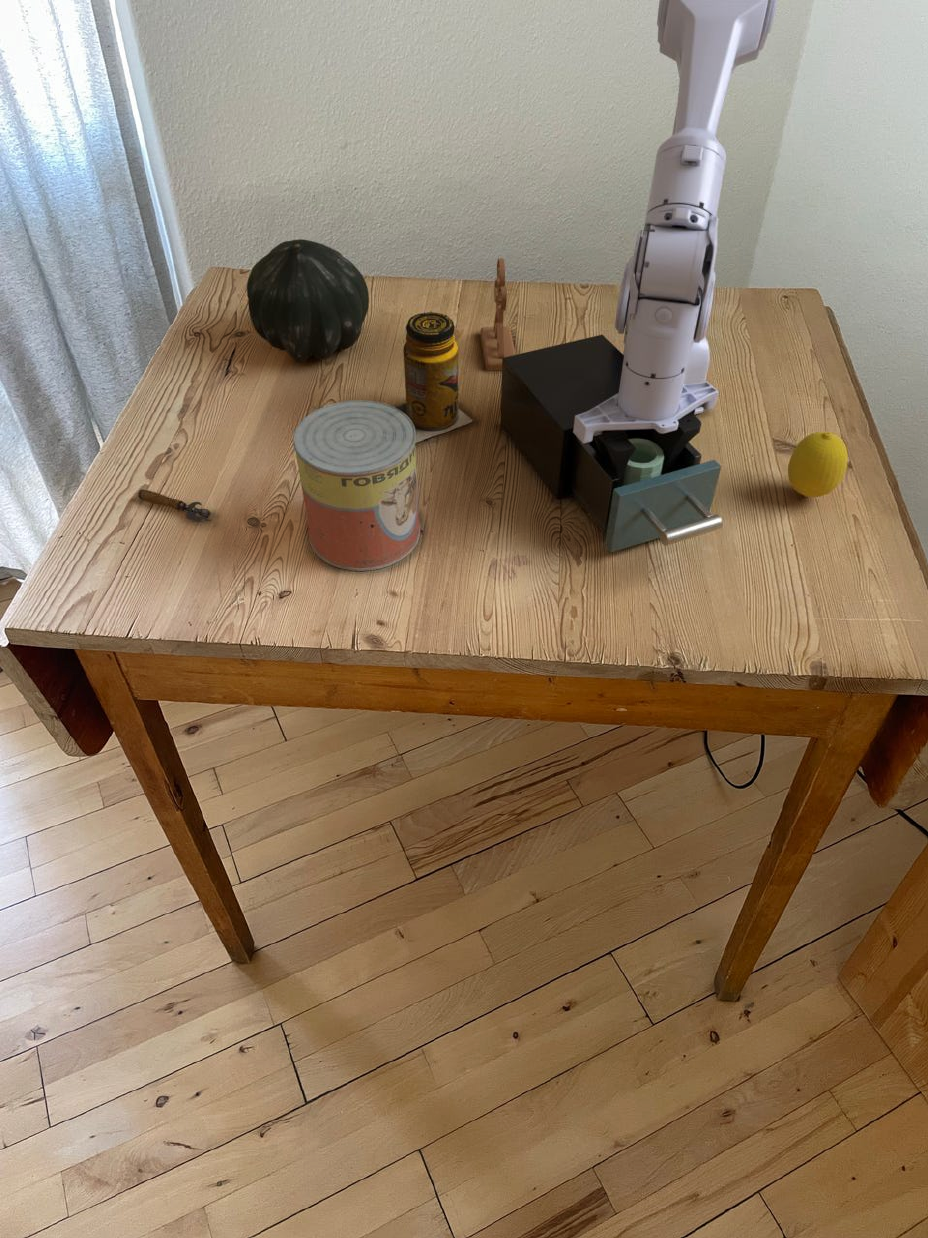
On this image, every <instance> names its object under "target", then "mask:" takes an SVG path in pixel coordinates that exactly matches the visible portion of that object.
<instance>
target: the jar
mask: <svg viewBox="0 0 928 1238" xmlns="http://www.w3.org/2000/svg"><path fill="white" fill-rule="evenodd" d="M628 440H629V441H630V442H631V443H632V444H633V445H634V446H635V447H636V449H635V451H634V452H633V454H632V455H631V457H630V459H629V462H628V464H627V467H626V470H625V475H624V480H623V485H622V486H625V485H629V484H632V483H635V482H639V481H642V480H646V479H649V478H653V477H656V476H660V475H661V471H662V466H663V460H664V453H663V450H662V449H661V448H660V447H659V446H658V445H657V444H656V443H653V442H651V441H649V440H645V439H637V438H636V439H628Z"/></svg>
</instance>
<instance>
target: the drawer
mask: <svg viewBox="0 0 928 1238" xmlns="http://www.w3.org/2000/svg"><path fill="white" fill-rule="evenodd" d="M625 432H626V433H627V434H628V436H627V439H636V438H637V439H645V440H649V441H651V442H652V440H653V429H633V430H625ZM702 456H703V455H702V454H701V453H700V452H699V450H698V449H696V447H694V445H692V443H690V441H689V442H688V444H687V445H686V446H685V447H684V448H683V450H682V451H681V452H680V454H679V455H678V457H677V458H676V460H675V462H674V463H673V465H672V467H671V469H670V470H669V472H668V473H667V474H663V475H660V476H656V477H653V478H649V479H646V480H642V481H639V482H635V483H632V484H629V485H625V486H622V487H618V485H619V477H618V476H617V475H616V474H615V473H614V472H613V471H612V469H611V468H610V467H609V466H608V465H607V464H606V463H605V461H604V460H603V459H602V458H601V457H600V454H599V451H598V448H597V445H596V443H595V440H594V438H593V439H592V441H591V442H588V443H584V444H583V443H582V442H581V441H580V440H579V439H578V437H577V436H576V435H575V434H574V433H573V434H569V443H568V453H567V462H566V472H565V481H564V485H565V486H566V487H567V488H568V490H569V491H570V492H571V493H572V495H573V497H574V499H575V500H576V501H577V502H578V503H579V505H580V506H581V507H582V508H583V510H584V511H585V513H587V515H588V516H589V518H591V520H592V521H593V522H594V523H595V525H596V526H597V527H598V528H599V530H600V531H601V532H602V534H603V535H605V541H604V547H605V548H606V549H607V551H608V552H609V553H611V554H612V553H615V552H618V551H621V550H624V549H628V548H630V547H634V546H637V545H640V544H644V543H646V542H649V541H653V540H656V539H659V540H660V543H661V544H662V545H663V546H665V547H666V546H670V545H674V544H677V543H679V542H682V541H687V540H689V539H692V538H695V537H699V536H701V535H705V534H708V533H711V532H714V531H718V530H721V529H722V528H723V520H722V517H721V516H720V515H719V514H712V513H711V512H710V511H711V508H712V504H713V500H714V497H715V493H716V490H717V489H716V488H717V485H718V481H719V477H720V473H721V469H722V465H720V464H719V462H718V461H716V459H712V460H709V461H705V462H702V463H701V461H702Z"/></svg>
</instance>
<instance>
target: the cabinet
mask: <svg viewBox="0 0 928 1238" xmlns="http://www.w3.org/2000/svg"><path fill="white" fill-rule="evenodd" d="M623 360H624V355H623V352H621V351H620V349H618V348H617V347H616V346H615V345H614V344H613V343H612V342H611V341H610V340H609V339H608V338H607V337H606V336H605V335H604V334H599V335H598V334H597V335H593V336H590V337H589V336H588V337H586V338H581V339H577V340H573V341H567V342H564V343H561V344H560V343H559V344H555V345H552V346H547V347H543V348H538V349H533V350H530V351H526V352H521V353H517V354H516V355H513V356H508V357H504V358H502V370H501V384H500V408H499V409H500V411H499V428H501V430H502V431H503V432H504V434H505V435H506V436H507V437H508V439H509V440H510V441H511V442H512V444H513V445H514V447H515V449H517V450H518V452H519V453H520V454H521V456H522V457H523V458H524V460H525V461H526V462H527V463H528V464H529V466H530V467H531V468H532V470H533V471H534V472H535V474H536V475H537V476H538V477H539V479H540V480H541V481H542V483H543V484H544V486H546V488H547V489H548V490H549V492H550V493H551V494H552V496H553V497H554V498H555V500H557V501H559V500H563V499H566V498H569V497H572V496H573V495H572V493H571V492H570V491H569V490H568V488H567V487H566V486H565V485H564V481H565V472H566V462H567V453H568V443H569V434H573V430H574V421H575V415H579V414H582V413H584V412H587V411H589V410H591V409H593V408H594V407H596V406H598V405H599V404H601V403H603V402H604V401H606V400H608V399H609V398H611V397H613V396H614V395H616V394H618V393H619V388H620V381H621V374H622V367H623ZM573 497H574V496H573Z"/></svg>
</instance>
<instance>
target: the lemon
mask: <svg viewBox="0 0 928 1238" xmlns="http://www.w3.org/2000/svg"><path fill="white" fill-rule="evenodd" d="M848 457H849V456H848V450H847V447H846V444H845V442H844V441H843V440H842V439H841V438H840V437H839V436H838V435H836V434H834V433H832V432H831V431H817V432H813V433H810V434H808V435H806V436H805V437H803V438H802V440H800V442H799V443H798V444H797V445H796V446H795V448H794V450H793V451H792V453H791V456H790V458H789V462H788V466H787V477H788V481H789V483H790V485H791V486H792V488H793V489H794V490H795V491H796V493H798V494H800V495H802V496H803V497H805V498H819V497H823V496H825V495H828V494H830V493H831V492H832V491H834V490H835V489H836V488H838V486H839V484H840V483H841V481H843V479H844V476H845V474H846V471H847V467H848Z"/></svg>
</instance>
